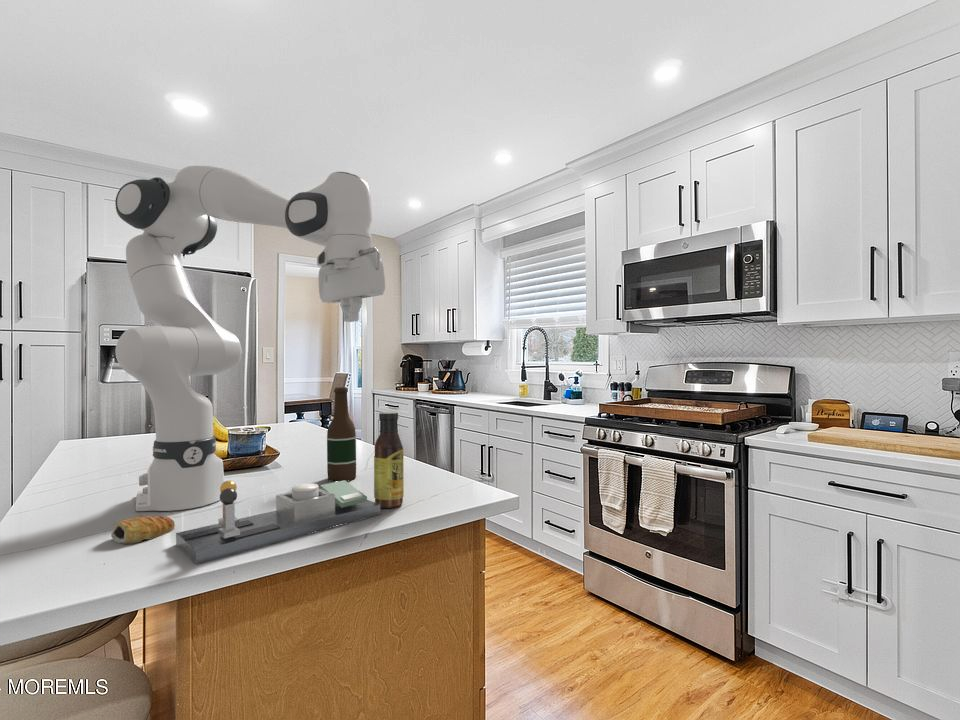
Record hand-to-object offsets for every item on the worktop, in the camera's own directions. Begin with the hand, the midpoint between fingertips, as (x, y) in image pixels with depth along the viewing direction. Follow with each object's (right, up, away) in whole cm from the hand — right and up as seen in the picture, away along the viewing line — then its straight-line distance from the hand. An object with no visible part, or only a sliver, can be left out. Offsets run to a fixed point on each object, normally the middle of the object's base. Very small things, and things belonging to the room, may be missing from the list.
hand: (351, 321), depth 102 cm
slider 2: (-15, -37, -19) cm, 44 cm away
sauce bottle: (+7, -39, +5) cm, 40 cm away
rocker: (-1, -35, -1) cm, 35 cm away
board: (-10, -39, -9) cm, 41 cm away
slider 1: (-18, -37, -14) cm, 43 cm away
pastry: (-35, -40, -12) cm, 54 cm away
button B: (-7, -37, -6) cm, 38 cm away
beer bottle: (-10, -39, +29) cm, 50 cm away
